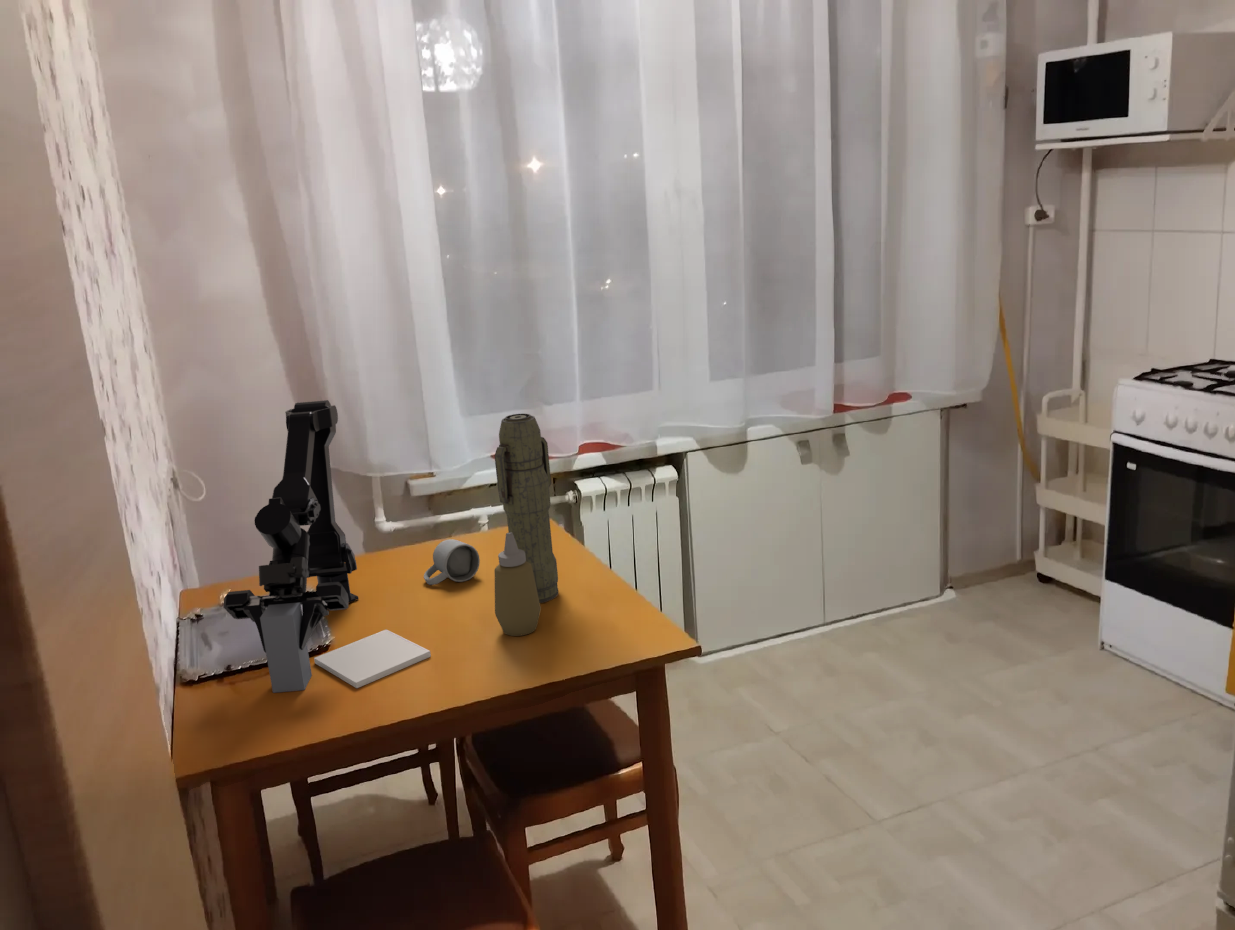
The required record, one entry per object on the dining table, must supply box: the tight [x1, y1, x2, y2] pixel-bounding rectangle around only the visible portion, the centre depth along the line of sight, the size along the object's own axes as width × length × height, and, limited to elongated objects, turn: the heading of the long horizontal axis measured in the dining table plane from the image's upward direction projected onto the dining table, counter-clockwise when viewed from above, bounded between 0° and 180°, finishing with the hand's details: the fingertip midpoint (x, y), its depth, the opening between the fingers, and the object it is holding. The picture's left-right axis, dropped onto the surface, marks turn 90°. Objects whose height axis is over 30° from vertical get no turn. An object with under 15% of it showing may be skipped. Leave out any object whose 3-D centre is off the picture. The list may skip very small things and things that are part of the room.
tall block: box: [260, 602, 313, 694], centre depth 158 cm, size 5×5×13 cm
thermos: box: [494, 413, 559, 604], centre depth 183 cm, size 9×12×35 cm
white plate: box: [313, 629, 432, 689], centre depth 166 cm, size 14×14×1 cm
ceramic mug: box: [423, 538, 481, 586], centre depth 199 cm, size 11×8×8 cm
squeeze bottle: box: [494, 532, 542, 637], centre depth 171 cm, size 8×8×18 cm
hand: (283, 650), depth 156 cm, fingers closed on tall block, 5 cm apart
